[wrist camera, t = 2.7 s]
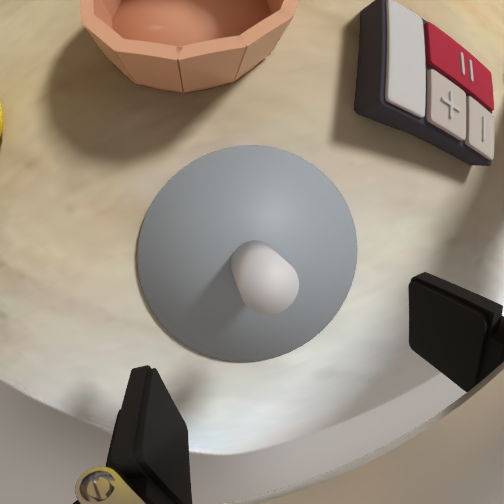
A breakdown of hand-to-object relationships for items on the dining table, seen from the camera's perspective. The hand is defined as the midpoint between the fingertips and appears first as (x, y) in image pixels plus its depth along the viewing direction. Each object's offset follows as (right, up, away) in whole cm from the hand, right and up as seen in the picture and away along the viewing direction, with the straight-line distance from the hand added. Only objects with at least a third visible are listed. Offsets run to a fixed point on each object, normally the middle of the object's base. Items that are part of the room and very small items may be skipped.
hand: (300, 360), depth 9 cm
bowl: (-6, +21, +7) cm, 23 cm away
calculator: (+14, +19, +11) cm, 26 cm away
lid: (-2, +3, +12) cm, 12 cm away
